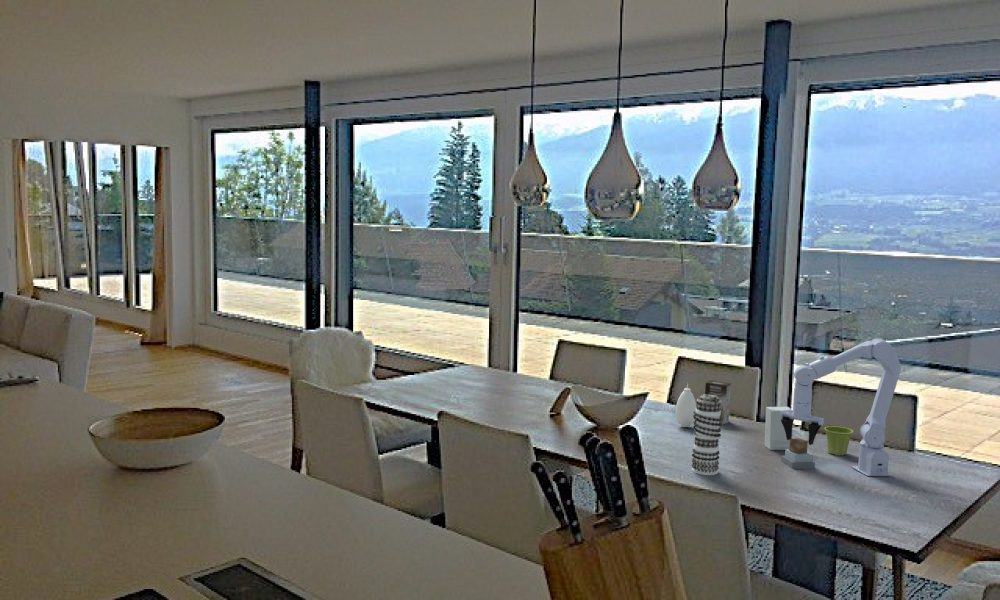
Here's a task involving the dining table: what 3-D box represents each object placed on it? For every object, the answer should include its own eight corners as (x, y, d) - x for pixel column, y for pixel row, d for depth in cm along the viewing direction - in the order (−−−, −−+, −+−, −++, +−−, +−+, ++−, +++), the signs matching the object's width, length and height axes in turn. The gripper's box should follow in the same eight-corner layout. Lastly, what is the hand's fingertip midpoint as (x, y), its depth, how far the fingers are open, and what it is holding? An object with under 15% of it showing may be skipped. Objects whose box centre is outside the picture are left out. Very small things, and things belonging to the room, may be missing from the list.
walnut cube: (806, 452, 283) (807, 440, 283) (798, 453, 281) (799, 442, 281) (797, 449, 287) (798, 438, 286) (789, 450, 285) (790, 439, 284)
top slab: (812, 461, 282) (813, 454, 281) (794, 462, 281) (794, 455, 280) (802, 456, 288) (803, 448, 288) (784, 456, 287) (785, 449, 287)
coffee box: (702, 421, 342) (704, 382, 340) (707, 418, 347) (709, 379, 346) (724, 424, 337) (726, 385, 335) (729, 421, 342) (731, 382, 341)
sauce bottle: (699, 428, 330) (702, 383, 328) (685, 430, 326) (688, 384, 324) (684, 423, 337) (687, 379, 335) (670, 426, 332) (673, 381, 330)
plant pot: (853, 458, 294) (855, 433, 294) (825, 455, 296) (827, 431, 295) (848, 451, 304) (850, 427, 303) (820, 448, 305) (822, 425, 305)
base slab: (814, 469, 281) (814, 462, 281) (791, 469, 280) (792, 462, 280) (803, 462, 289) (803, 455, 289) (780, 462, 288) (781, 455, 288)
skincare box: (785, 446, 308) (788, 406, 306) (792, 450, 302) (794, 410, 300) (763, 445, 307) (765, 405, 306) (768, 450, 301) (771, 409, 300)
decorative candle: (684, 468, 277) (688, 393, 274) (707, 465, 280) (711, 392, 278) (701, 476, 268) (705, 399, 266) (725, 474, 272) (729, 397, 269)
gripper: (828, 404, 280) (825, 444, 282) (787, 396, 290) (784, 435, 292) (819, 407, 275) (817, 447, 277) (777, 399, 285) (775, 438, 287)
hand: (799, 441), depth 284 cm, fingers open, 7 cm apart
